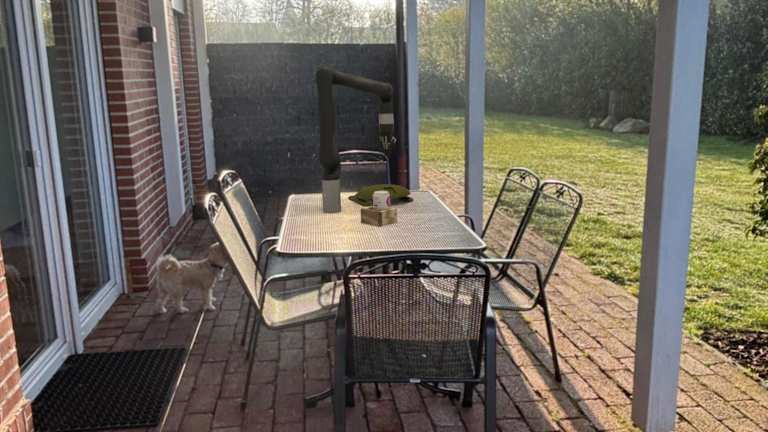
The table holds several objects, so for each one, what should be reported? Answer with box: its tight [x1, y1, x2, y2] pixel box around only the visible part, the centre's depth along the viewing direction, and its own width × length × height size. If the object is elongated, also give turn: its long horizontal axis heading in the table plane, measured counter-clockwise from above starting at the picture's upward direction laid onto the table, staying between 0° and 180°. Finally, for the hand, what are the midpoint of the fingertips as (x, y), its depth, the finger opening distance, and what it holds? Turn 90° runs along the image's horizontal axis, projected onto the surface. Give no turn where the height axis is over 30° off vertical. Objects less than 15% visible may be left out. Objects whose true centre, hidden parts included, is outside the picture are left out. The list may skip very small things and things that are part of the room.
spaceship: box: [347, 183, 414, 207], centre depth 374 cm, size 35×31×10 cm
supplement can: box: [372, 191, 391, 211], centre depth 316 cm, size 8×8×15 cm
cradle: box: [360, 205, 398, 228], centre depth 316 cm, size 12×13×7 cm
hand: (387, 156), depth 337 cm, fingers closed
